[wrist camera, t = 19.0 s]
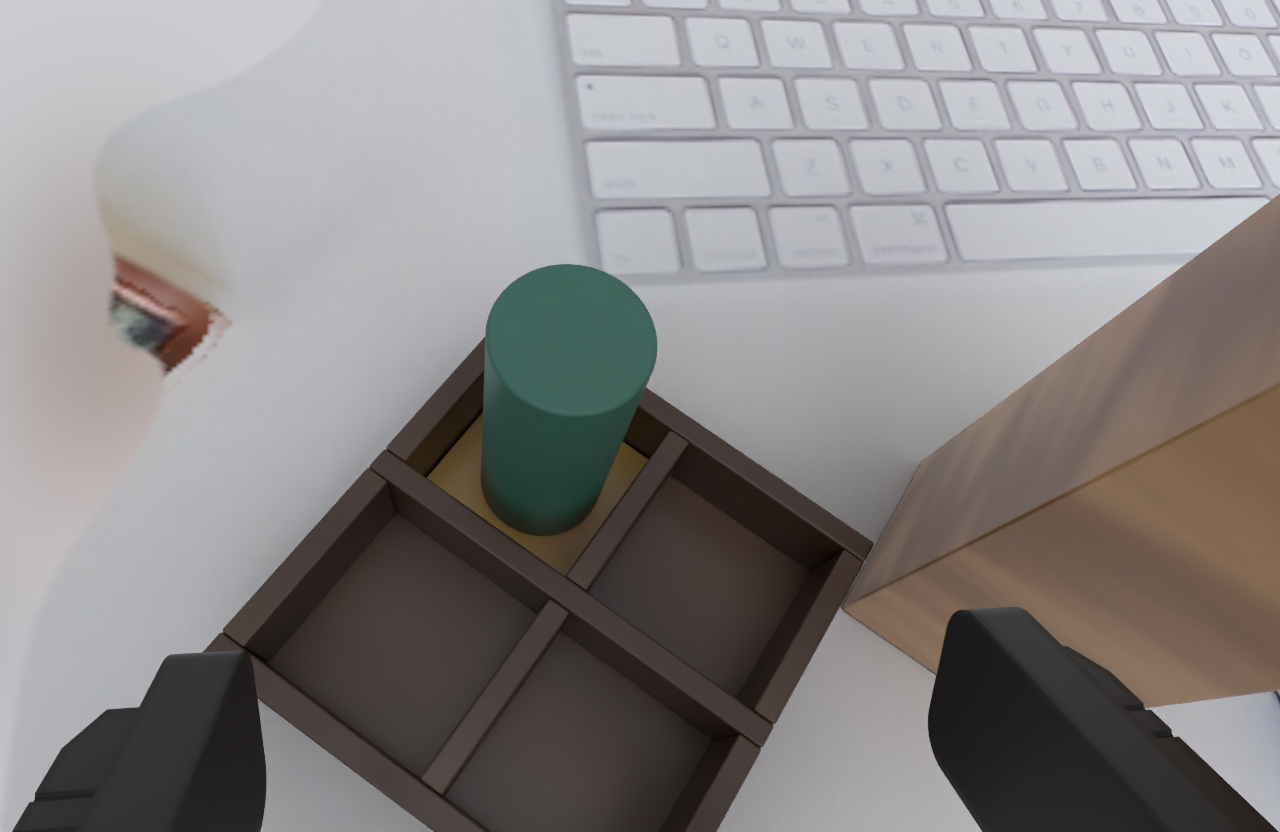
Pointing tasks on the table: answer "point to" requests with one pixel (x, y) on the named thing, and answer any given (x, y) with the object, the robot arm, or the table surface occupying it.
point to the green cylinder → (559, 392)
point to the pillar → (1118, 494)
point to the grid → (550, 629)
